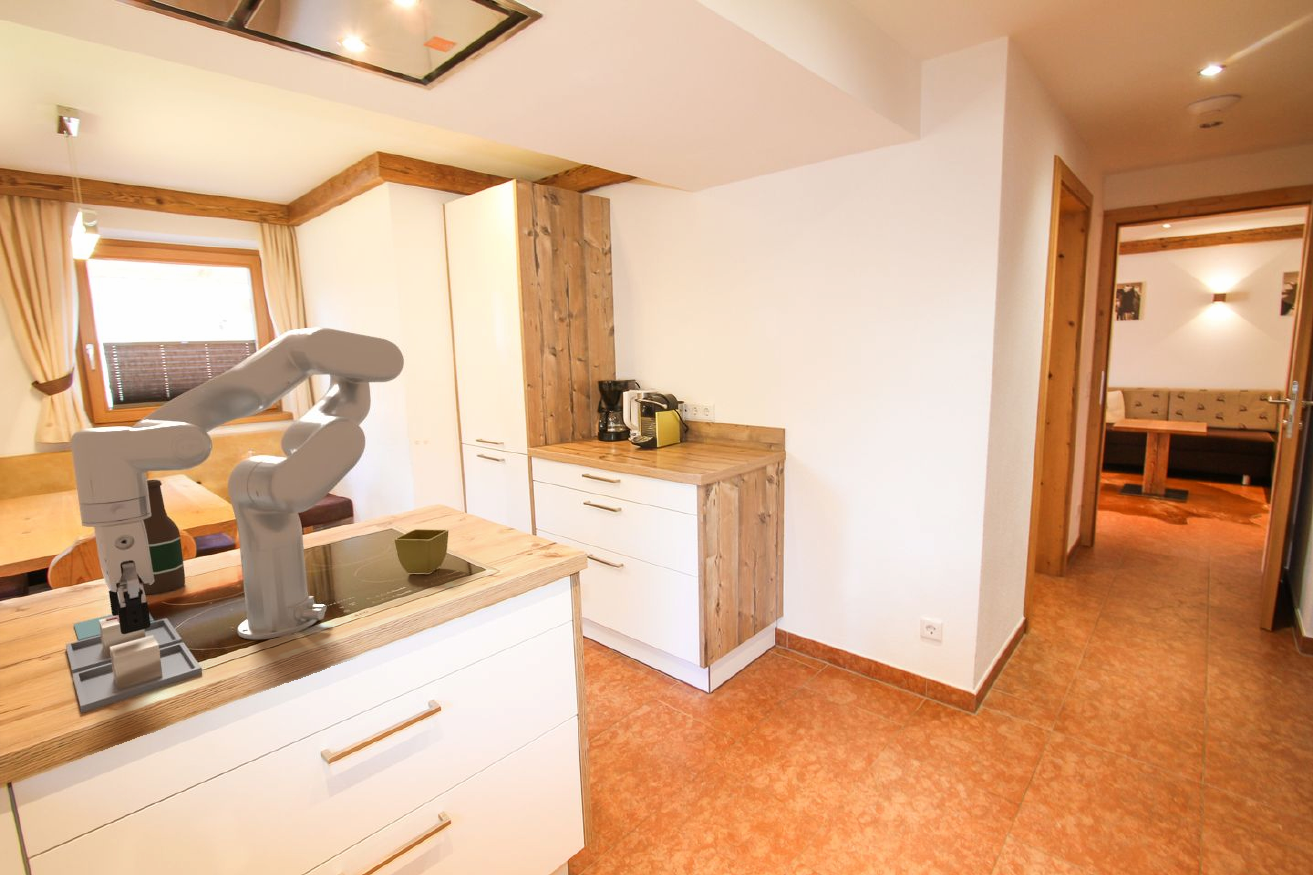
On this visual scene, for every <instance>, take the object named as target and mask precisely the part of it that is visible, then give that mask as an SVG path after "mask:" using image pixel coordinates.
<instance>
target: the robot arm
mask: <svg viewBox="0 0 1313 875" xmlns="http://www.w3.org/2000/svg"><path fill="white" fill-rule="evenodd" d="M404 360H405V359H404V356H403V352H402V351H401V349H400V348H399V346H397V345H396V344H395V343H394V342H392V341H390V340H388V339H385V338H381V337H376V336H370V335H364V334H360V333H354V332H350V331H345V330H339V329H334V328H329V327H310V328H299V329H292V330H289V331H286V332H284V333H282V334H280V335H279V336H278V337H276V338H275V339H273V340H272V341H270V342H269V343H267V344H266V345H264V346H263V347H261V348H260V349H258V350H257V351H255V352H254V353H253V354H251V355H249V356H248V357H247V358H245V359H243V360H242V361H240V362H239V363H237V364H236V365H235V366H233V367H231V368H230V369H228V370H227V371H225V372H223V373H221V374H218V375H217V376H214V377H212V378H211V379H209V380H207V381H206V382H204V383H201V384H199V385H197V386H196V387H194V388H192V389H189V390H187V391H185V392H183V393H182V394H180V395H178V396H176V397H174V398H172V399H171V400H168V402H166V403H164V404H162V406H160V407H158V408H157V409H156V410H153V411H151V413H149V414H148V415H146V416H145V417H143V418H142V419H140V420H139V421H138V422H136V423H135V424H134V425H133V426H132V427H131V426H104V427H103V426H102V427H91V428H90V427H89V428H84V429H79V430H77V431H75V432H74V433H73V434H72V435H71V438H70V448H71V454H72V462H73V468H74V477H75V483H76V489H77V498H78V504H79V512H80V520H81V526H82V527H87V528H93V529H94V535H95V543H96V549H97V556H98V559H99V560H98V561H99V564H100V569H101V572H102V576H103V579H104V582H105V584H106V586H107V588H108V589H109V590H108V596H109V602H110V603H109V604H110V609H111V615H113V616H117V615H119V623H120V630H121V633H122V634H128V633H131V632H135V631H139V630H143V629H146V628H149V627H150V625H151V624H150V616H149V613H150V612H149V611H150V609H149V603H148V602H149V601H148V600H147V597H146V595H145V592H144V588H143V583H142V581H143V582H144V583H145V584H146V583H148V584H149V585H151V584H152V583H153V582H154V575H153V569H152V563H151V557H150V551H149V545H148V539H147V534H146V529H145V525H144V521H143V519H146V518H149V517H150V516H151V509H150V501H149V493H148V484H147V480H148V476H147V472H157V471H158V472H159V471H161V472H162V471H163V472H164V471H185V470H191V469H193V468H196V467H198V466H200V465H201V464H203V463H205V461H207V460H208V459H209V457H210V456H211V453H212V452H213V440H212V437H211V436H210V434H209V433H208V432H210V431H212V430H213V429H216V428H218V427H220V426H222V425H224V424H227V423H229V422H233V421H235V420H238V419H243V418H247V417H250V416H253V415H257V414H259V413H261V412H264V411H266V410H269V409H270V408H271V407H272V406H273V405H275V404H276V403H278V402H279V401H280V400H281V399H283V397H285V396H287V395H288V394H290V393H291V392H292V391H294V390H295V389H296V388H297V387H298V386H300V385H301V384H302V383H304V382H305V381H306V380H308V379H309V378H311V377H313V376H314V375H316V376H318V375H319V376H320V375H328V376H329V379H330V380H329V388H328V390H327V391H326V393H325V394H324V395H323V396H322V397H321V398H320V399H319V400H318V401H317V402H316V403H314V405H312V406H311V407H310V408H309V409H308V410H307V411H305V412H304V413H303V414H302V415H301V416H300V417H298V419H296V420H295V421H294V422H293V423H291V424H290V425H289V427H288V428H287V429H285V431H284V432H283V435H282V437H281V440H280V446H281V450H282V452H283V454H284V455H285V456H287V457H285V456H279V455H265V454H261V455H254V456H253V455H252V456H250V457H247V458H244V459H242V460H241V461H239V462H238V463H237V464H236V465H235V466H234V467H233V468H232V470H231V472H230V474H229V477H228V480H227V490H228V496H229V497H228V498H229V499H230V503H231V504H230V505H231V507H232V510H233V513H234V517H235V521H236V526H237V532H238V540H239V541H238V542H239V553H240V561H241V571H242V572H241V573H242V579H243V580H242V581H243V590H244V591H243V592H244V599H245V600H244V601H245V608H246V618H247V619H245V620H243V621H242V622H241V623H240V624H239V625H238V626H237V634H238V636H239V637H240V638H242V639H247V640H255V641H256V640H269V639H275V638H278V637H283V636H287V635H293V634H295V633H299V632H300V631H303V630H305V629H307V628H309V627H311V626H312V625H314V624H315V623H316V622H317V621H321V620H323V619H324V618H325V615H326V613H325V612H326V611H327V609H328V608H327V605H326V604H316V603H315V599H314V598H315V596H313V595H309V591H308V582H307V570H306V569H307V568H306V561H305V550H304V539H303V538H304V537H303V536H304V535H303V527H302V522H301V518H300V515H299V513H303V512H306V511H308V510H310V509H312V508H313V507H314V506H316V505H317V504H318V503H320V502H321V501H323V499H324V498H325V497H327V495H329V493H331V491H332V490H333V489H334V488H335V487H336V486H337V485H338V484H339V483H340V482H341V481H342V480H343V479H344V478H345V476H347V474H349V473H350V471H351V470H352V469H353V468H354V467H356V465H357V463H359V461H360V459H361V458H362V456H363V453H364V451H365V449H366V448H365V447H366V436H365V432H364V430H363V429H362V427H361V426H360V425H361V423H363V422H364V421H365V419H366V418H367V417H368V415H369V413H370V409H371V404H372V403H371V398H372V397H371V386H370V383H387V382H391V381H393V380H395V379H396V378H398V376H400V375H401V373H402V371H403V369H404V366H405V365H404V362H405V361H404Z"/></svg>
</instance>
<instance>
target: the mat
mask: <svg viewBox="0 0 1313 875" xmlns="http://www.w3.org/2000/svg"><path fill="white" fill-rule="evenodd" d="M149 616H150V622H153V621H155V619H154V618H153V616H152V615H151V613H150V612H149ZM109 617H113V615H112V614H109V615H104V616H100V617H96V618H92V619H87V620H83V621H79V622H76V623H73V628H74V630H75V633H76V634H75V635H76V637H77V641H80V640H84V639H87V638H91V637H95V636H99V635H101V632H100V625H99V620H101V619H105V618H109Z"/></svg>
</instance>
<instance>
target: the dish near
mask: <svg viewBox="0 0 1313 875" xmlns="http://www.w3.org/2000/svg"><path fill="white" fill-rule="evenodd" d="M159 651H160V659H161V667H162V675H163V676H160V677H157V678H154V679H151V680H147V681H144V682H141V683H138V684H135V685H131V686H128V687H125V688H122V689H119V690H118V688H117V685H116V682H115V680H114V676H113V669H112V663H108V664H105V665H102V666H98V667H95V668H91V669H88V670H84V671H81V672H77V673H74V674H72V679H73V680H72V681H73V684H74V688H75V692H76V695H77V700H78V703H79V708H80V712H81V714H85V713H87V712H90V711H93V710H94V711H95V710H96V709H99V708H103V707H105V706H108V705H112V704H115V703H119V702H121V701H124V700H127V699H131V698H133V697H136V696H139V695H142V694H145V693H149V692H152V691H155V690H157V689H160V688H164V687H167V686H170V685H172V684H176V683H179V682H183V681H185V680H188V679H189V680H190V679H192V678H194V677H197V676H200V675H203V671H202V670H203V669H202V666H201V665H200V663H199V662H198V661H197V659H196V658H195V656H194V655H193V653H192V652H191V651H190V649H189V648H188V647H187V645H186V644H185V643H184V641H182V643H178V644H175V645H171V646H168V647H164V648H161V649H159Z"/></svg>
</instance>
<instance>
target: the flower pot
mask: <svg viewBox="0 0 1313 875" xmlns="http://www.w3.org/2000/svg"><path fill="white" fill-rule="evenodd" d="M448 541H449V530H448V529H426V528H425V529H417V528H415V529H413V530H410V531H408V532H406V533H404V534H402V535H400V536H398V537H396V538H394V544H395V548H396V553H397V557H398V561H399V562H400V565H401V567H402V568H403V569H404V571H405V572H406V573H407V574H408V573H430V572H432V571H433V570H434V569H437V568H438V567H439V566H440V567H442V565H443V563H444V560H445V557H446V555H447V551H448ZM437 570H438V569H437Z"/></svg>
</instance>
